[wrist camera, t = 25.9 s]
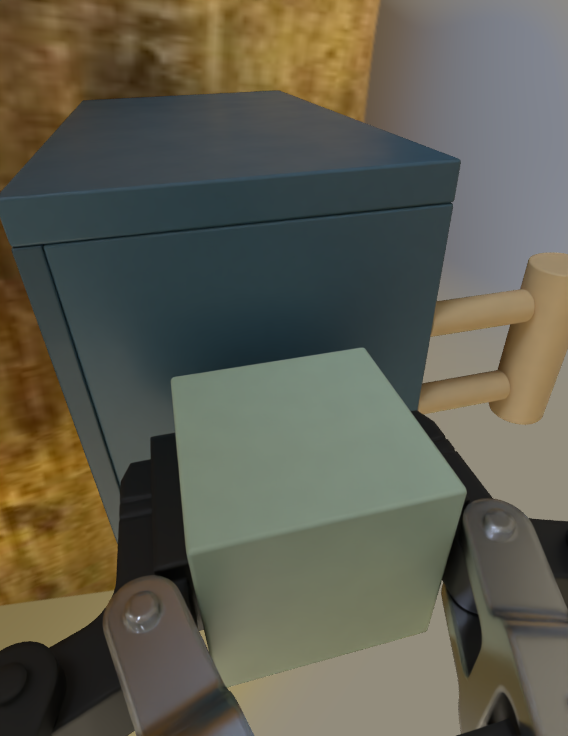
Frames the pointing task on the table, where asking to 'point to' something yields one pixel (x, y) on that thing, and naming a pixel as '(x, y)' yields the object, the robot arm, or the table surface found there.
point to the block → (309, 511)
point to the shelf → (251, 262)
